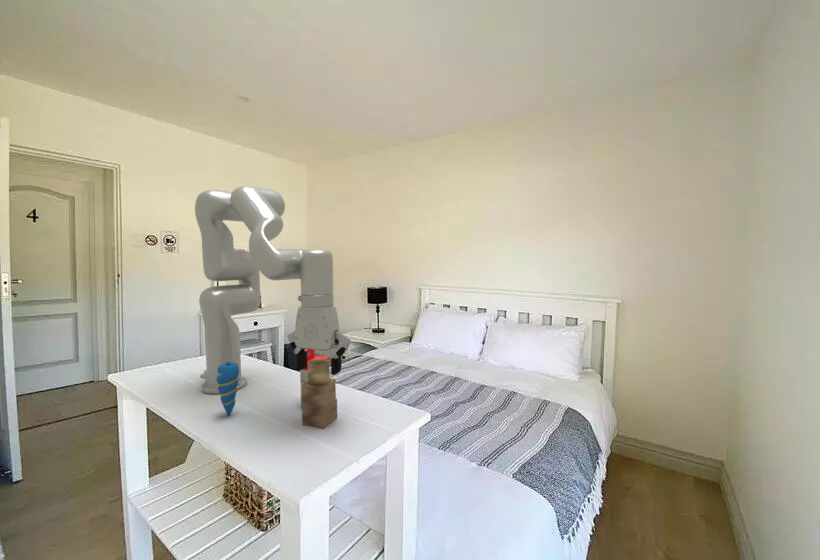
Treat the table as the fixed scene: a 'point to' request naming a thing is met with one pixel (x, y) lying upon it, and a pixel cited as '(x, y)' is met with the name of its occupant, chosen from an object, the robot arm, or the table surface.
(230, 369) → the ornament
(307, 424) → the bottom block
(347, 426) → the table surface
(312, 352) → the ink box
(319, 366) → the beige knob
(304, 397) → the top block
